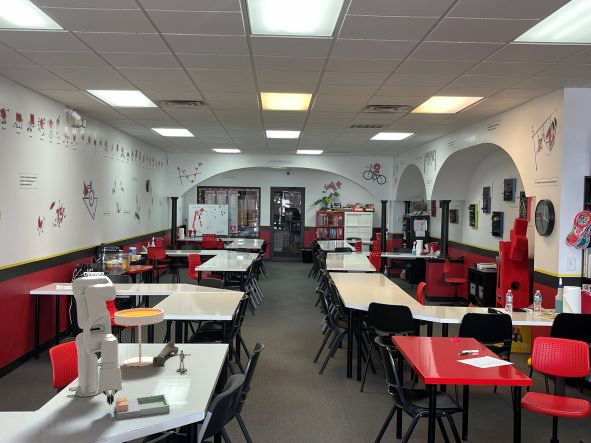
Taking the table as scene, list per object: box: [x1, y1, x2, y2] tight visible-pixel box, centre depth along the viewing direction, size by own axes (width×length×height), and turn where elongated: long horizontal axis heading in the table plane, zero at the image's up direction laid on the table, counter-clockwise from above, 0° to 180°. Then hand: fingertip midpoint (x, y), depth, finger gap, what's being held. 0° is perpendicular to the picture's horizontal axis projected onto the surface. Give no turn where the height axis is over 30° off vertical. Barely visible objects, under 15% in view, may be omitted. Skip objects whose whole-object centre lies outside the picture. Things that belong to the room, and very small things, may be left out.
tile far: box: [115, 396, 128, 402], centre depth 250 cm, size 5×5×2 cm
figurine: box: [172, 349, 191, 373], centre depth 313 cm, size 11×7×12 cm, turn 81°
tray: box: [136, 393, 170, 417], centre depth 253 cm, size 13×17×3 cm
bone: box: [152, 341, 179, 368], centre depth 338 cm, size 32×10×9 cm, turn 177°
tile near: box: [115, 401, 128, 411], centre depth 245 cm, size 5×5×2 cm
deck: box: [114, 398, 141, 420], centre depth 248 cm, size 10×17×2 cm, turn 21°
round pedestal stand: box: [113, 307, 165, 368], centre depth 332 cm, size 30×30×31 cm
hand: (110, 403), depth 249 cm, fingers closed
